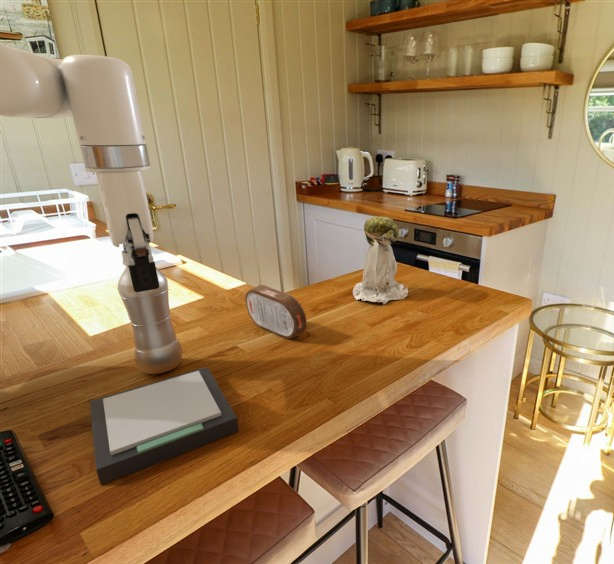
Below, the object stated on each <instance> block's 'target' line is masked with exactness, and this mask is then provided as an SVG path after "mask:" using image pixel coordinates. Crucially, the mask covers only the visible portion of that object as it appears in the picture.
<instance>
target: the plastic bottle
mask: <svg viewBox="0 0 614 564" xmlns="http://www.w3.org/2000/svg"><path fill="white" fill-rule="evenodd" d="M131 249H132V251H133V249H135V248H131ZM150 250H151V251H152V249H151V248H150ZM151 254H152V258H153V261H155V260H154V256H153V253H152V252H151ZM121 257H122V265H123V266H125V269H124V270H123V271H122V273H121V275H120V277H119V279H118V281H117V292H118V294H119V296H120V299H121V301H122V303H123V306H124V308H125V310H126V312H127V313H126V314H127V315H128V319H129V321H130V325H131V328H132V336H133V342H134V351H133V352H134V362H135V363H136V365H137V367H138V369H139V371H141V372H142V373H145V374H148V375H159V374H163V373H166V372H170V371H171V370H174V369H175V368H176V367H178V366H179V364H180V363H181V361H182V359H183V347H182V345H181V342H180V339H179V338H178V337H177V333H176V330H175V327H174V324H173V321H172V315H171V309H170V303H169V301H170V300H169V282H168V279H167V277H166V275H165V274H164V272H163V271H161V269H159V268H158V267H157V266H156V271H157V276H158V281H159V288H158V289H153V290H148V291H143V292H135V291H134V289H133V284H132V280H131V276H130V271H129V267H128V265H130V261H129V257H128V253H127V249H125V250H124V249H123V250H121Z"/></svg>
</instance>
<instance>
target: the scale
mask: <svg viewBox="0 0 614 564" xmlns="http://www.w3.org/2000/svg"><path fill="white" fill-rule="evenodd" d="M89 405H90V406H89V408H90V418H91V429H92V440H93V450H94V451H93V453H94V463H95V471H96V474H97V478H98V481H99V485H100V486H103V485H105V484H108V483H110V482H112V481H114V480H119V479H120V478H123V477H125V476H128V475H131V474H133V473H136V472H139V471H141V470H144V469H146V468H149V467H151V466H154V465H157V464H159V463H162V462H163V461H166V460H170V459H172V458H175V457H177V456H179V455H182V454H184V453H187V452H190V451H192V450H194V449H198V448H199V447H202V446H205V445H207V444H210V443H212V442H215V441H218V440H220V439H223V438H226V437H228V436H230V435H232V434H235V433H238V432H239V423H238V418H237V415H236V414H235V412H234V410H233V409H232V406H231V405H230V403H229V401H228V399H227V397H226V396H225V395H224V393H223V391H222V389H221V388H220V386H219V384H218V382H217V380H216V379H215V377H214V375H213V374H212V372H211V370H210V369H209V366H205V367H201V368H198V369H194V370H191V371H188V372H184V373H180V374H177V375H174V376H170V377H167V378H164V379H163V378H162V379H161V380H157V381H153V382H150V383H146V384H143V385H140V386H137V387H133V388H130V389H125V390H122V391H120V392H116V393H111V394H108V395H106V396H102V397H98V398H96V399H92V400H89Z"/></svg>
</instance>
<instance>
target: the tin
mask: <svg viewBox="0 0 614 564" xmlns="http://www.w3.org/2000/svg"><path fill="white" fill-rule="evenodd" d="M244 299H245V305H246V310H247V313H248V315H249V317H250V319H251V320H252V321H253V323H254V324H256V326H257V327H259V328H261V329H264V330H266V331H268V332H270V333H273V334H275V335H277V336H279V337H282V338H283V339H287V340H290V339H293V338H295V337H297V336H299V335H302V334H303V333H304V332H305V331H306V330H307V329H306V328H307V316H306V313H305V310H304V308H303V307H302V305H301V303H300V302H299V301H298V300H297V299H296V297H294V296H293V295H292V294H289V293H287V292H284V291H282V290H278V289H275V288H273V287H270V286H268V285H266V284H258V285H257V286H255V287H253V288H251V289H249V290H247V292H245V297H244Z"/></svg>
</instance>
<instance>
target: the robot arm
mask: <svg viewBox="0 0 614 564" xmlns="http://www.w3.org/2000/svg"><path fill="white" fill-rule="evenodd" d="M0 116H1V117H2V116H3V117H7V118H28V119H29V118H30V119H31V118H32V119H33V118H34V119H60V118H67V117H72V119H73V124H74V127H75V131H76V132H75V133H76V136H77V140H78V144H79V149H80V153H81V157H82V161H83V165H84V169H85V172H87V173H95V175H96V182H97V188H98V192H99V198H100V203H101V205H102V210H103V215H104V219H105V223H106V227H107V231H108V236H109V239H110V241H111V244H112V245H113V246H114V247H116V248H120V245H122V248H123V250H125V249H127V253H128V257H129V261H130V265H128V267H129V271H130V276H131V280H132V284H133V289H134V291H135V292H143V291H148V290H153V289H158V288H159V281H158V276H157V271H156V267H157V266H156V262H155V260H153V259H154V257H153V258H152V256H153V253H152V249H151V246H150V243H152V242H153V241H154V240H155V239H154V231H153V223H152V217H151V212H150V206H149V201H148V195H147V191H146V190H147V189H146V184H145V181H144V176H143V171H149V170H151V169H152V168H151V163H150V158H149V152H148V146H147V144H146V136H145V132H144V126H143V120H142V116H141V109H140V104H139V100H138V94H137V88H136V83H135V79H134V74H133V71H132V69H131V67H130V65H129V64H128V63H127V62H126V61H124V60H122V59H120V58H118V57H117V58H116V57H111V56H107V55H97V54H70V55H67V56H65V57H63V58H55V57H49V56H45V55H41V54H38V53H33V52H31V51H28V50H24V49H21V48H17V47H13V46H10V45H6V44H4V43H2V42H0ZM131 248H135V249H133V251H132V249H131ZM150 249H151V250H150ZM151 253H152V254H151Z"/></svg>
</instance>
